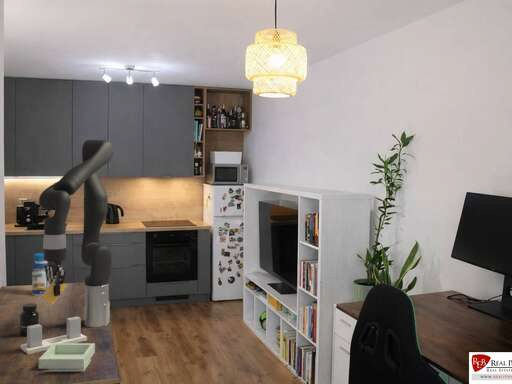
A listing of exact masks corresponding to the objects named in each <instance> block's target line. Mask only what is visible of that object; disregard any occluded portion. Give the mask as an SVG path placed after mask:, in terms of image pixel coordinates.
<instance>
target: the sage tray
mask: <svg viewBox="0 0 512 384" xmlns="http://www.w3.org/2000/svg"><path fill="white" fill-rule="evenodd" d="M95 353H96V343H94V342H93V343H91V342H90V343H89V342H88V343H84V342H82V343H81V342H78V343H53V344H52V345H51V347H50V348H49V349H48V350H45V352H44V353H43V354H42V355H40V357H39V358H38V369H40V371H38V372H40V373H41V372H45V373H46V372H47V373H49V372H62V373H63V372H85V371H86V369H87V367H88V366H89V365H90V363H91V361H93V358H94V357H93V356H94V354H95ZM41 369H43V370H41Z"/></svg>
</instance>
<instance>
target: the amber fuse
mask: <svg viewBox="0 0 512 384" xmlns="http://www.w3.org/2000/svg"><path fill="white" fill-rule="evenodd" d="M67 286H68V285H67V284H66V283H65V282H64V283H63V284H61V285H60V295H59V296H54V285H53V281H52V283H51V284H50V285H49V287H48V288H47V290H46V291H45V292H44V294H43V295H42V296H40V298H41V299H42V300H44V301H45V302H47V303H49V304H51V305H54V304H55V302H56V301H57V300H58V298H59V297H60V296H61V294H62V293H63V291H64V290H65V288H67Z"/></svg>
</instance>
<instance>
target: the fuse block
mask: <svg viewBox="0 0 512 384" xmlns="http://www.w3.org/2000/svg"><path fill="white" fill-rule="evenodd" d="M85 341H88V336H86V335H84V334H82V333H81V337H77V338H73V339H68V338H67V334H63V335H60V336H55V337H50V338H45V339H42V346H38V347H34V348H29V347H27V343H23V344H20V349H21V350H22V351H23V352H25V353H26V354H27V355H30V354H35V353H39V352H44V351H47V350H48V349H49V348H50V347H51V345H52V344H53V343H81V342H82V343H83V342H85Z"/></svg>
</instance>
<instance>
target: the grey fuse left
mask: <svg viewBox="0 0 512 384" xmlns="http://www.w3.org/2000/svg"><path fill="white" fill-rule="evenodd" d="M26 340H27V341H26V344H27V347H29V348H34V347H38V346H42V340H43V326H42V325H41V324H40V323H39V324H36V325H31V326H27V337H26Z"/></svg>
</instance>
